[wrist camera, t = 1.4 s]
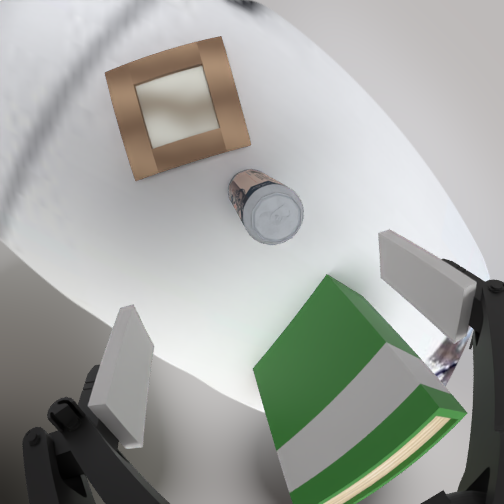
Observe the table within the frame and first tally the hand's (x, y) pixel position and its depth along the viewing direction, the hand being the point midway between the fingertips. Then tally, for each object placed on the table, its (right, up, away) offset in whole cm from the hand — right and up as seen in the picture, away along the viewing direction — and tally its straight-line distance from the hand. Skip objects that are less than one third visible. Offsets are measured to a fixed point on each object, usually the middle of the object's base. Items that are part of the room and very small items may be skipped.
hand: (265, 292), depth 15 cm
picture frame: (-8, +17, +14) cm, 23 cm away
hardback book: (+7, -10, +28) cm, 30 cm away
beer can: (-1, +9, +19) cm, 21 cm away
